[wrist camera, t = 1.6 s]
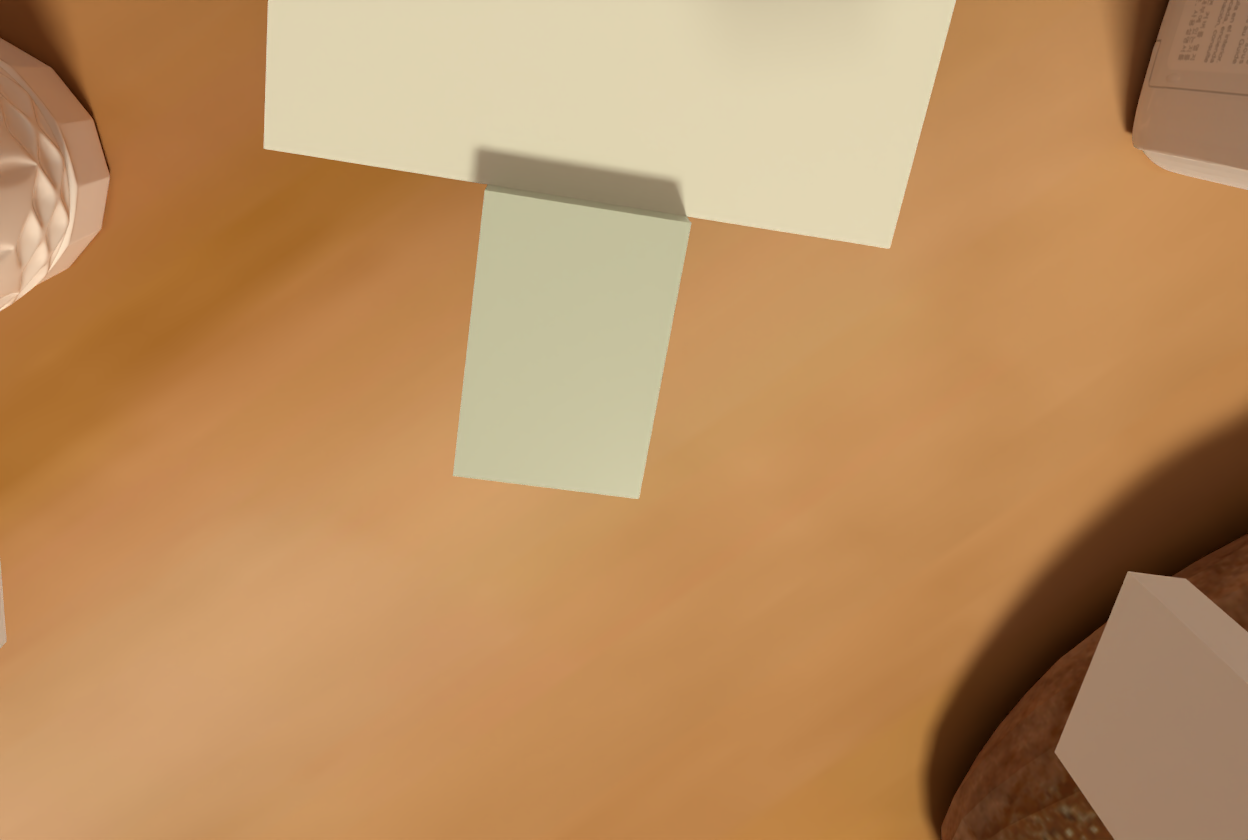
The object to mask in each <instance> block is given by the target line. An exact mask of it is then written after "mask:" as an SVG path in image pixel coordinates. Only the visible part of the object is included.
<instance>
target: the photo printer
mask: <svg viewBox="0 0 1248 840" xmlns="http://www.w3.org/2000/svg"><path fill="white" fill-rule="evenodd" d="M1132 142H1133V145H1134V147H1135V148H1137V149H1141V150H1143V152H1144V153H1145V155H1146V156H1147V157H1148V158H1149V159H1150V160H1151V161H1152V162H1154V163H1155V164H1156V165H1158V166H1160V167H1161V168H1163V169H1166V170H1168V171H1171V172H1174V173H1178V174H1182V175H1186V176H1191V177H1195V178H1199V179H1203V180H1207V181H1212V182H1216V183H1220V184H1225V185H1229V186H1233V187H1237V188H1242V189H1246V190H1248V0H1169V3H1168V6H1167V9H1166V12H1165V15H1164V18H1163V21H1162V24H1161V27H1160V30H1159V34H1158V37H1157V41H1156V43H1155V45H1154V48H1153V51H1152V55H1151V59H1150V62H1149V66H1148V69H1147V73H1146V76H1145V80H1144V83H1143V87H1142V90H1141V94H1140V98H1139V101H1138V106H1137V110H1136V115H1135V120H1134V125H1133V134H1132Z"/></svg>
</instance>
